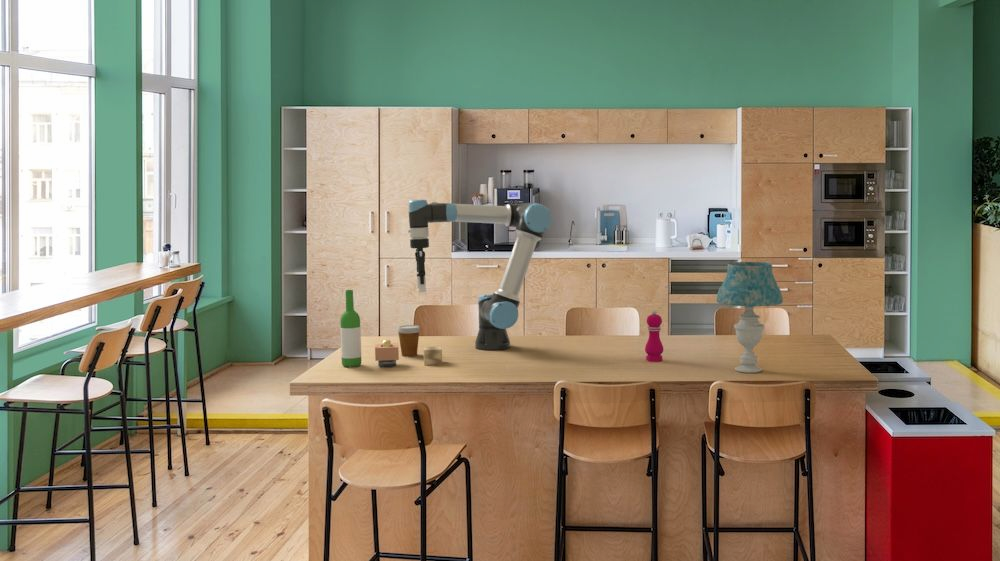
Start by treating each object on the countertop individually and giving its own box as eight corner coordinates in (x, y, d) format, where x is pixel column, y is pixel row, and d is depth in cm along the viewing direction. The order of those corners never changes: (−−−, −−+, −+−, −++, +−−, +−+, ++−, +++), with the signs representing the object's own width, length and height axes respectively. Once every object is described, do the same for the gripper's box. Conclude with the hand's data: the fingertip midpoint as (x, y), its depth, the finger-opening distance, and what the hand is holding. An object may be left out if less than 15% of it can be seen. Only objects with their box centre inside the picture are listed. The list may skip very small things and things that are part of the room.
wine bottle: (345, 368, 385) (342, 291, 382) (339, 365, 392) (336, 289, 389) (364, 366, 389) (362, 290, 385) (357, 363, 396) (355, 288, 392)
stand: (441, 361, 396) (441, 346, 396) (442, 364, 390) (441, 349, 389) (423, 361, 396) (423, 347, 395) (424, 365, 389) (424, 350, 388)
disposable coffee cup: (417, 357, 405) (416, 328, 404) (394, 357, 407) (394, 328, 406) (423, 353, 414) (422, 325, 413) (401, 352, 416) (401, 324, 415)
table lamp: (793, 375, 359) (795, 265, 355) (732, 379, 354) (733, 268, 350) (763, 363, 382) (764, 260, 378) (705, 366, 377) (706, 262, 373)
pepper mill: (664, 359, 393) (665, 309, 391) (661, 362, 386) (661, 312, 384) (646, 358, 395) (646, 308, 393) (643, 361, 389) (643, 311, 387)
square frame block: (398, 355, 393) (398, 343, 393) (398, 359, 385) (398, 347, 384) (375, 356, 392) (375, 344, 392) (375, 360, 384) (375, 348, 383)
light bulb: (396, 363, 393) (395, 338, 392) (396, 367, 386) (395, 341, 385) (378, 364, 392) (377, 339, 391) (378, 367, 385) (377, 342, 384)
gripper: (409, 236, 411) (411, 287, 413) (411, 240, 386) (413, 294, 388) (427, 235, 412) (429, 286, 414) (430, 239, 387) (432, 293, 389)
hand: (421, 290), depth 401 cm, fingers open, 13 cm apart
